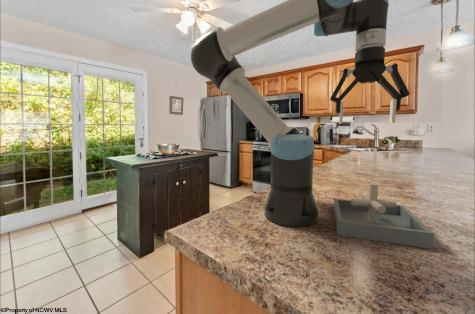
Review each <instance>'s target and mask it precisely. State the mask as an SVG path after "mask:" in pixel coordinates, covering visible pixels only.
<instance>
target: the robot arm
mask: <svg viewBox="0 0 475 314" xmlns="http://www.w3.org/2000/svg"><path fill="white" fill-rule="evenodd" d="M389 5H390V3H389V0H357V1H354V0H286V1H282V2H281V3H279V4H276V5H275V6H273V7H270V8H268V9H266V10H263V11H261V12H259V13H257V14H255V15H252V16H250V17H248V18H246V19H243V20H242V21H239V22H236V23H235V24H233V25H230V26H228V27H226V28H222V27H220V26H218V27H216V28H214V29H211V30H210V31H208V32H206V33H205V34H203V35H202V36H200V37H199V38H198V39H197V40H196V41H195V42H194V44H193V46H192V49H191V50H190V51H191V52H190V61H191V62H190V63H191V65H192V67H193V68H194V70H195V71H196V73H198V74H199V75H200V76H202V77H204V78H206V79H208V80H210V81H211V82H212V83H213V85H215V87H216V88H217V90H219V92H220V93H221V94H227V95H228V96H229V97H230V98H231V100H232V101H233V102H234V103H235V104H236V106H237V107H238V108H239V109H240V111H241V112H242V113H243V114H244V115H245V116H246V117H247V119H248V120H249V121H250V122H251V123H252V125H253V126H254V128H256V130H258V132H259V133H260V134H261V135H262V136H263V138H264V139H265V140H266V141H267V142H268V143H267V144H268V146H267V150H269V152H270V191H269V193H268V196H267V198H266V202H265V206H264V216H265V218H266V219H267V220H268V221H270V222H271V223H274V224H278V225H281V226H286V227H295V228H296V227H307V226H311V225H315V223H317V222H318V220H319V209H318V206H317V203H316V200H315V197H314V193H313V179H314V177H313V176H314V158H315V143H314V139H313V138H312V137H311V136H309V135H305V134H301V133H300V131H298V129H297V128H296V127H295V126H289V125H288V124H287V123H285V121H284V120H283V119H282V118H281V117H280V116H279V115H278V113H277V112H276V111H275V110H274V109H273V108H272V106H271V105H270V104H269V103H268V102H267V100H266V99H265V98H264V96H262V94H261V93H260V92H259V91H258V90H257V88H255V87H254V85H252V83H251V82H250V81H249V79H248V78H247V77H246V76H245V75H246V71H245V68H244V67H243V66H242V65H241V63H240V62H239V61H238V59H237V58H236V56H237V55H240V54H242V53H245V52H247V51H249V50H252V49H255V48H257V47H259V46H261V45H264V44H267V43H270V42H272V41H274V40H277V39H278V38H282V37H284V36H286V35H289V34H292V33H294V32H296V31H300V30H302V29H304V28H307V27H309V26H311V25H313V35H314V36H315V37H328V36H333V35H339V34H345V33H346V34H347V33H353V32H355V49H354V50H355V54H354V68H353V69H348V68H347V67H345V68H344V69H343V71H342V75H341V78H340V80H339V82H338V84H337V86H336V87H335V89H334V91H333V93H332V95H331V96H330V98H329V100H330V102H334V103H335V112H336V113H335V114H339V118H338V119H339V120H338V125H340V124H343V121H344V120H343V118H344V117H343V116H344V115H343V114H344V102H343V101H342V100H344V98H345V97H346V96H347V95H348V94H349V93H350V91H352V90H353V88H355V86H356V85H357V84H358V83H359V84H361V85H364V84H367V83H368V84H373V83H375V82H376V83H378V85H380V86H381V87H382V88H383V90H385V91H386V92H387V93H388V94H389V95H390V97H392V98H393V99H392V100H390V105H389V117H388V118H389V119H388V121H389V122H388V124H389V123H390V124H392V123H396V114H397V112H398V111H399V112H400V110H401V103H402V101H401V100H402V99H404V98H406V97H408V96H410V95H411V94H410V91H409V89H408V87H407V86H406V84H405V82H404V79H403V78H402V76H401V74H400V72H399V67H398V63H397V62H394V63H393V64H389V65H385V55H386V48H385V46H386V44H387V43H386V40H387V39H386V37H387V25H388V24H387V23H388V12H389V10H388V9H389ZM386 71H387V73H388V74H390V77H391V78H392V81H393V82H394V84H395V86H396V88H397V89H396V88H395V87H394V86H393V85H392V84H391V83H390V82H389V81H388V80H387V78H386V77H385V75H383V74H384V73H385V72H386ZM351 74H352V76H353V77H354V79H353V81H352V82H351V83H350V84H349V85H348V86H347V87H346V89H344V91H343V92H342V93H341V94H340V95H339V96H338V94H339V92H340V90H341V88H342V86H343V85H344V83H345V81H346V79H347V78H349V77H350V75H351ZM337 96H338V97H337Z"/></svg>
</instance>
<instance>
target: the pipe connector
mask: <svg viewBox="0 0 475 314" xmlns="http://www.w3.org/2000/svg"><path fill="white" fill-rule="evenodd" d="M378 187H379V184H378V183H369V189H368V190H369V191H368V194H364V195H362V197H361V198H351V199H350V200H351V204H352V206H369V213H368V222H370V223H376V218H377V211H378V212H379V213H384V212H386V208H385V207H396V205H398V204H397V202H396V201H397V200H395V199H393V200H392V199H378V194H379V193H378V192H379V188H378Z"/></svg>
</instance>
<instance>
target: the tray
mask: <svg viewBox="0 0 475 314" xmlns="http://www.w3.org/2000/svg"><path fill="white" fill-rule="evenodd" d="M385 208H386V212H384V213H379V212H378V211H377V218H376V223H370V222H368V213H369V206H352V204H351V199H341V198H333V214H334V222H335V229H336V234H337V236H342V237H350V238H354V239H355V238H356V239H361V240H369V241H370V240H371V241H376V242H383V243H390V244H395V245H403V246H409V247H416V248H422V249H431V250H432V249H433V243H434V232H433V231H431V230H430V229H429V228H428V226H426V224H424V223H423V222H422V221H421V220H420V219H419V218H418V217H417V216H416V215H415V214H414V213H412V211H410V210H409V209H408V208H407V207H406V206H405V205H403V204H397V205H396V207H385Z"/></svg>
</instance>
